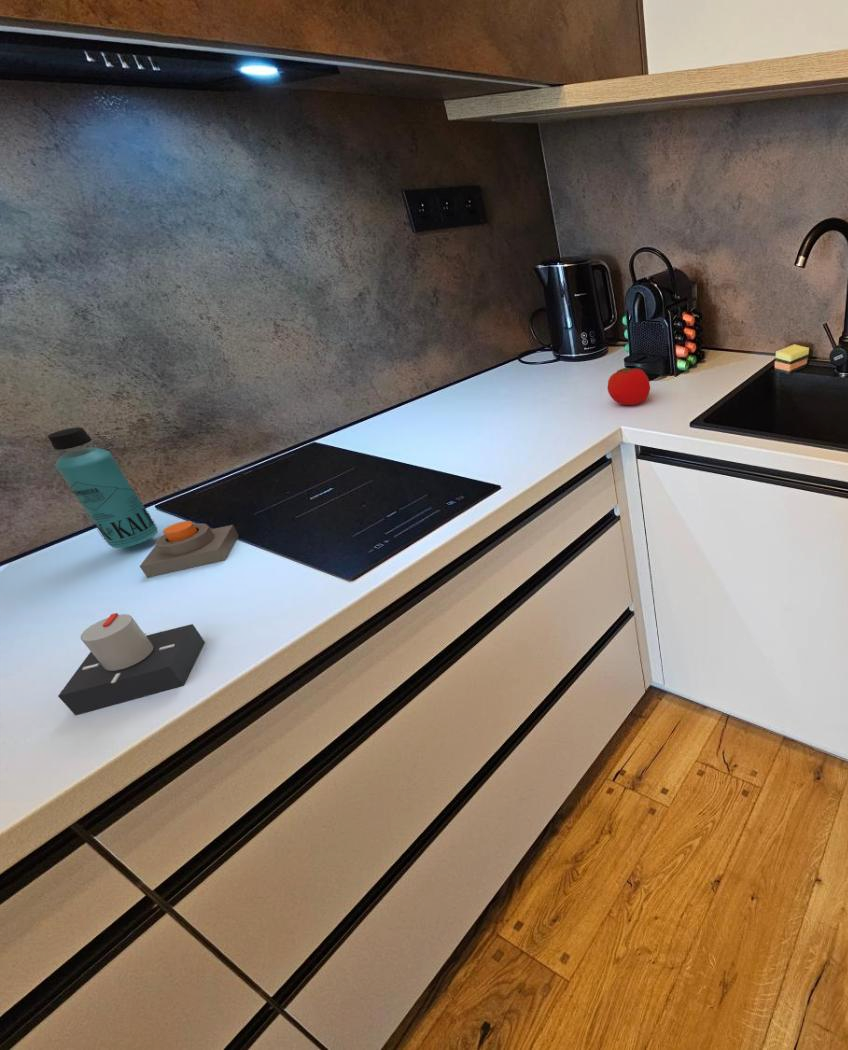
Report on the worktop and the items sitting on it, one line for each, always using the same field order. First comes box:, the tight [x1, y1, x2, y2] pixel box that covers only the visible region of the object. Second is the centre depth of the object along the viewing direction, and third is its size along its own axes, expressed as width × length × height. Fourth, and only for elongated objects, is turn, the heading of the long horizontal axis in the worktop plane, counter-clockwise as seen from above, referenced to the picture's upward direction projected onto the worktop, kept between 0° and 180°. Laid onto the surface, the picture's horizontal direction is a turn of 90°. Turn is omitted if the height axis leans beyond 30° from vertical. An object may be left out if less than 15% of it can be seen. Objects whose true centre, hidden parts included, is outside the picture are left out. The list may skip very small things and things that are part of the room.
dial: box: [80, 612, 153, 671], centre depth 65 cm, size 4×4×5 cm
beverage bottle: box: [47, 426, 158, 549], centre depth 90 cm, size 6×7×20 cm
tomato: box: [606, 367, 651, 406], centre depth 137 cm, size 9×10×8 cm
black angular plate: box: [57, 623, 206, 716], centre depth 67 cm, size 10×9×3 cm
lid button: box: [162, 520, 198, 542], centre depth 89 cm, size 4×4×2 cm
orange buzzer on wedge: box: [139, 523, 240, 579], centre depth 90 cm, size 10×8×4 cm
